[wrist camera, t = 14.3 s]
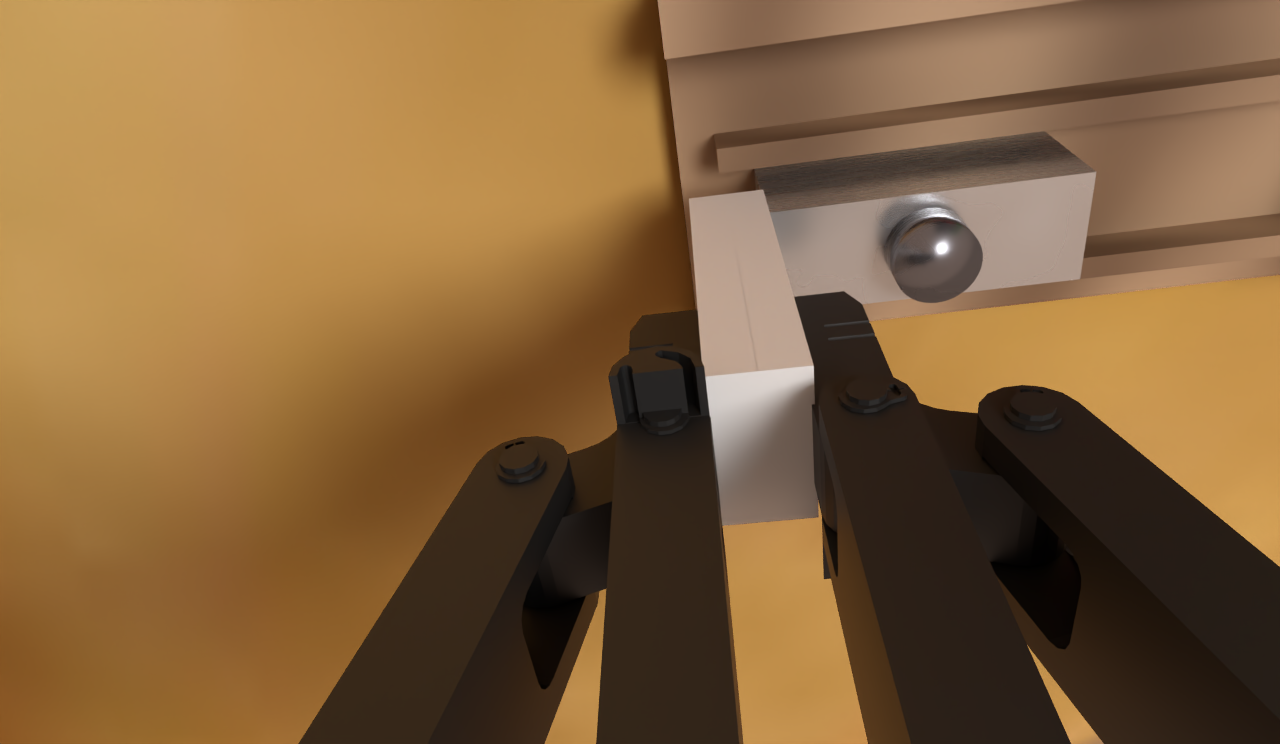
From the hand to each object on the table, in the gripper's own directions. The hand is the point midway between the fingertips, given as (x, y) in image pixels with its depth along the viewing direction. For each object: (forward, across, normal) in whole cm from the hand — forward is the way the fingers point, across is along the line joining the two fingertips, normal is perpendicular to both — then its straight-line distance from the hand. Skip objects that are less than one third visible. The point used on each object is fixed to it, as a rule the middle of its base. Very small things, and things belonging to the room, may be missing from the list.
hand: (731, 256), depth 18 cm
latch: (+2, +4, 0) cm, 4 cm away
